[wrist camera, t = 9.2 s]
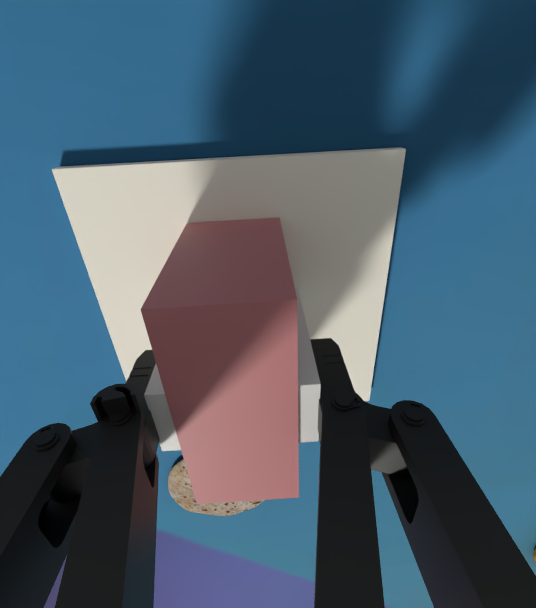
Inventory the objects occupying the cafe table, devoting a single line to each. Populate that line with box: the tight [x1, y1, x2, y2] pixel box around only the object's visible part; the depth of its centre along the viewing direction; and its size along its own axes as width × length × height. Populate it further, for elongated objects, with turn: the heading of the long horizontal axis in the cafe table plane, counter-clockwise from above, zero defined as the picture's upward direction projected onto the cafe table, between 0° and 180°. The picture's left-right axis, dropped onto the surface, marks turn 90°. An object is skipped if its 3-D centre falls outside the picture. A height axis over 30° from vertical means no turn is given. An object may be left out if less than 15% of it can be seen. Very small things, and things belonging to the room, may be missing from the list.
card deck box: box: [141, 217, 299, 504], centre depth 14 cm, size 9×4×7 cm, turn 3°
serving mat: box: [52, 147, 406, 401], centre depth 17 cm, size 14×14×1 cm
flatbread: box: [168, 458, 265, 516], centre depth 25 cm, size 8×8×1 cm
